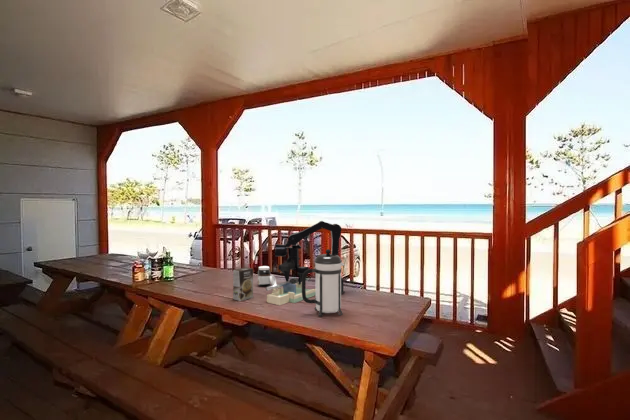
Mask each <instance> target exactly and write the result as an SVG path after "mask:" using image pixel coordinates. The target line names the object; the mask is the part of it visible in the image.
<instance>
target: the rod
mask: <svg viewBox="0 0 630 420" xmlns="http://www.w3.org/2000/svg"><path fill="white" fill-rule="evenodd" d="M297 283H298V277H294V278H291V279H290V278H289V281H287V282H286V281H284V282H281V283H276V285H273V286H272V285H269V286H266V287H265V291H271V290H273V289H278V288H281V287H282V288H283V292H293V293H296V284H297Z"/></svg>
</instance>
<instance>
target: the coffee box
mask: <svg viewBox="0 0 630 420" xmlns="http://www.w3.org/2000/svg"><path fill="white" fill-rule="evenodd" d="M232 273H233V274H232V276H233V279H232V280H233V282H232V286H233V287H232V288H233V289H232V291H233V293H232V297H233V300H235V301H238V302H241V301H245V300H248V299H253V298H254V268H251V267H240V268H236V269H233V271H232Z"/></svg>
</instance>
